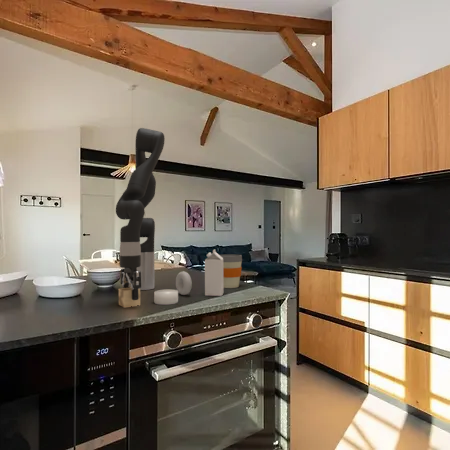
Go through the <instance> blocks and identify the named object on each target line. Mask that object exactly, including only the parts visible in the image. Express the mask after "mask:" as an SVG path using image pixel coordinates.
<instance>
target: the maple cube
mask: <svg viewBox="0 0 450 450" xmlns="http://www.w3.org/2000/svg"><path fill="white" fill-rule="evenodd" d="M129 287H130V288H123V287H121V288H118V305H119V306H121V307H123V308H130V307H131V306H132V307H138V306H137V305H139V306H141V290H140V289H138V300H132V288H131V286H129Z"/></svg>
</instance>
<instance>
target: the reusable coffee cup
mask: <svg viewBox="0 0 450 450" xmlns="http://www.w3.org/2000/svg"><path fill="white" fill-rule="evenodd" d="M219 255H220V256H221V257H222V258H223V282H224V289H235V288H239V286H240V279H241V276H242V269H243V267H242V262H243V256H242V254H231V253H229V254H219Z"/></svg>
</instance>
